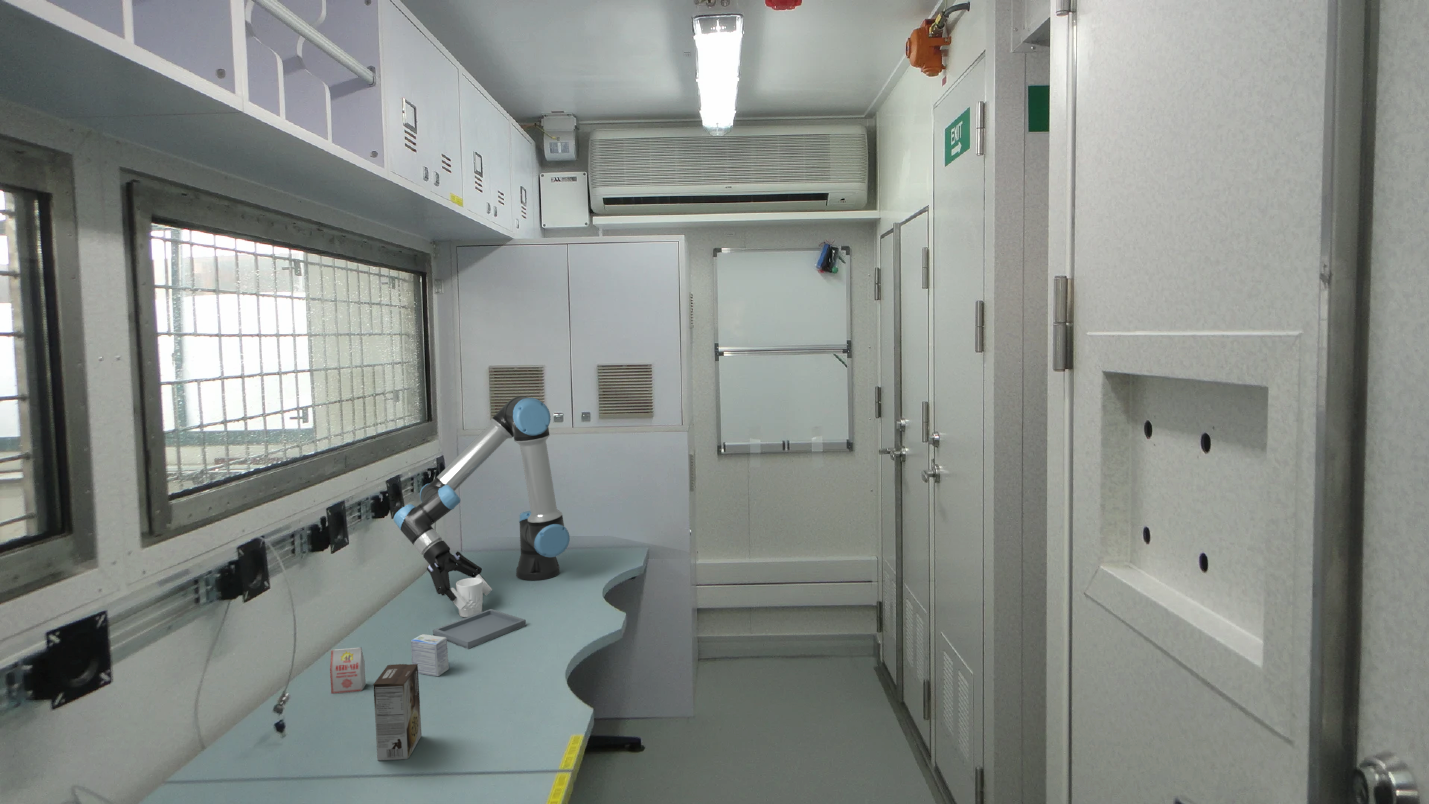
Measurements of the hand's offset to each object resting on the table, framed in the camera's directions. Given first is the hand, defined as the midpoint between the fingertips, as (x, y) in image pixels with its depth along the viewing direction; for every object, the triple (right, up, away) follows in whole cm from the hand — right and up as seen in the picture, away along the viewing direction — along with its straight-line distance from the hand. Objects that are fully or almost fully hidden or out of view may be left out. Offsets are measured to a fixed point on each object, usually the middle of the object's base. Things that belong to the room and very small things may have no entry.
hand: (476, 599), depth 231 cm
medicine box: (+1, -8, -39) cm, 40 cm away
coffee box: (+8, -11, -75) cm, 76 cm away
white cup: (-2, -5, +1) cm, 5 cm away
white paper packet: (-16, -9, -48) cm, 51 cm away
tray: (+5, -6, -13) cm, 15 cm away
